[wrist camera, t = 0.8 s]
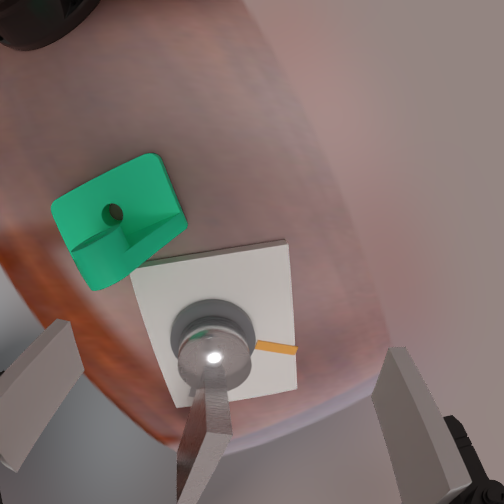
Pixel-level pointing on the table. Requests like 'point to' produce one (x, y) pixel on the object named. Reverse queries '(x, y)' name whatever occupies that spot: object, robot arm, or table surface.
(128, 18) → the table surface
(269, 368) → the post base
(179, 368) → the brushed metal plate
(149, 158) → the green mounting bracket
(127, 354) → the table surface
